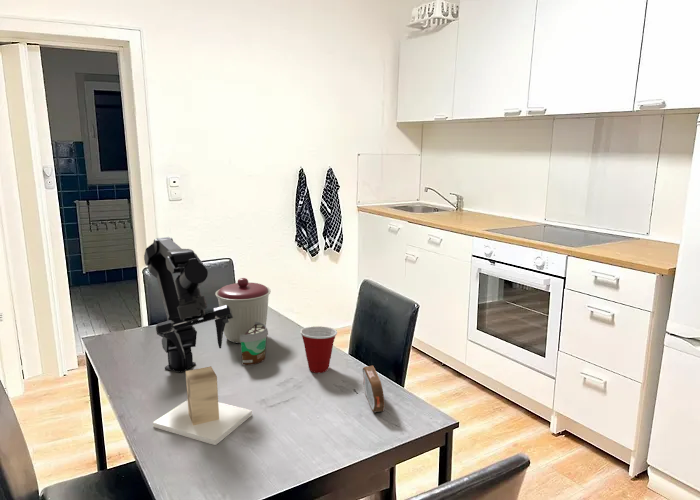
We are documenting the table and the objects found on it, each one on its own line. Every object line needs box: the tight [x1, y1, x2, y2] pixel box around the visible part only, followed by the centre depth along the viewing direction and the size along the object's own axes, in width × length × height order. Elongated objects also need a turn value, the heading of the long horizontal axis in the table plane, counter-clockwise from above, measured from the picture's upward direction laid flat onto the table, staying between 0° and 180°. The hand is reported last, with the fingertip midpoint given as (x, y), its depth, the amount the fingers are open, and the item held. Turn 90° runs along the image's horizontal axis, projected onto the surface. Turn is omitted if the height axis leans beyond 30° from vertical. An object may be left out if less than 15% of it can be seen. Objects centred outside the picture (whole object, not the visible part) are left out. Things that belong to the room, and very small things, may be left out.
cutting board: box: [152, 399, 253, 446], centre depth 122 cm, size 18×14×1 cm
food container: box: [240, 322, 269, 366], centre depth 155 cm, size 12×6×10 cm, turn 168°
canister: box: [214, 277, 271, 344], centre depth 171 cm, size 18×18×21 cm
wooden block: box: [185, 366, 219, 425], centre depth 121 cm, size 6×6×11 cm
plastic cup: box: [299, 325, 338, 374], centre depth 149 cm, size 11×11×12 cm
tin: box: [362, 365, 385, 413], centre depth 130 cm, size 15×3×8 cm, turn 9°
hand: (202, 353), depth 130 cm, fingers open, 9 cm apart
